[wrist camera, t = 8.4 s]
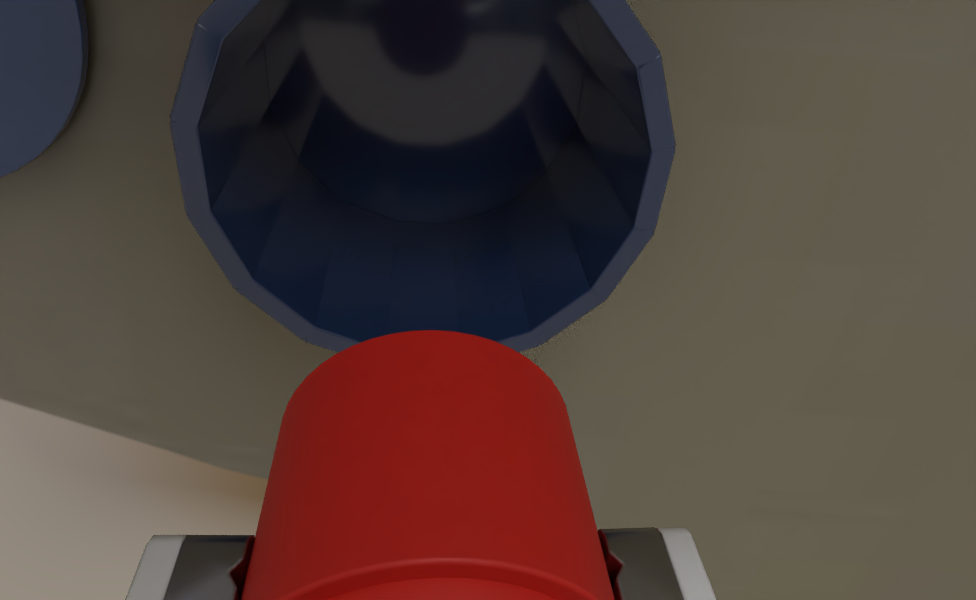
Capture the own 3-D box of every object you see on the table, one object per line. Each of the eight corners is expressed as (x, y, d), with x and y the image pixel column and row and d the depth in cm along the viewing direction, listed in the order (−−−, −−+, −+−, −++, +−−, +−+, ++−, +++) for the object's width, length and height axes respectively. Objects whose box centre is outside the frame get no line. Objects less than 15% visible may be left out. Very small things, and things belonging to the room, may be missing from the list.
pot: (173, 62, 26) (64, 164, 18) (439, -227, 21) (450, -260, 14) (420, 282, 32) (420, 429, 24) (662, 93, 28) (757, 196, 20)
